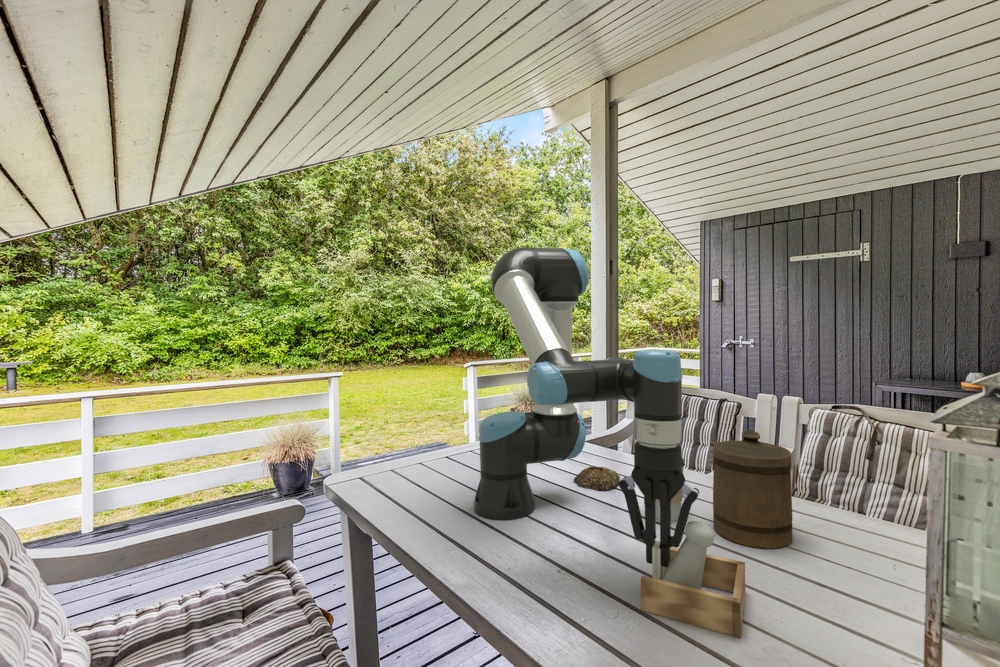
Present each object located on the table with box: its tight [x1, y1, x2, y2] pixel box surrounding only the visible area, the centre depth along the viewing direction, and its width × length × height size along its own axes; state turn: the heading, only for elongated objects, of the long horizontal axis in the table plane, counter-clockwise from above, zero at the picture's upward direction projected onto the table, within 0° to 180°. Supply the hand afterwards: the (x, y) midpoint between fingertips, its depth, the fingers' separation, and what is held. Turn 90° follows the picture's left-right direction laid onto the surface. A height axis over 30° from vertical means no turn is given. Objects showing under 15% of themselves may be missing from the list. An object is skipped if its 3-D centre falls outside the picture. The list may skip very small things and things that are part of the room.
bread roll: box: [573, 465, 621, 492], centre depth 134 cm, size 13×12×5 cm
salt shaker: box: [663, 520, 716, 590], centre depth 75 cm, size 6×6×13 cm
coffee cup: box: [655, 457, 685, 523], centre depth 110 cm, size 9×9×15 cm
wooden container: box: [712, 429, 793, 549], centre depth 99 cm, size 15×15×22 cm
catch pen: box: [639, 547, 746, 638], centre depth 76 cm, size 14×13×5 cm
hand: (658, 583), depth 78 cm, fingers closed
